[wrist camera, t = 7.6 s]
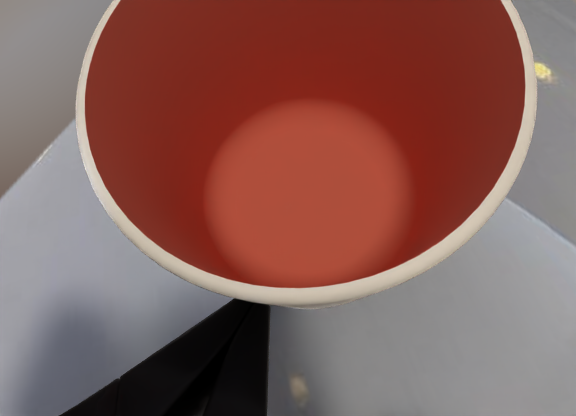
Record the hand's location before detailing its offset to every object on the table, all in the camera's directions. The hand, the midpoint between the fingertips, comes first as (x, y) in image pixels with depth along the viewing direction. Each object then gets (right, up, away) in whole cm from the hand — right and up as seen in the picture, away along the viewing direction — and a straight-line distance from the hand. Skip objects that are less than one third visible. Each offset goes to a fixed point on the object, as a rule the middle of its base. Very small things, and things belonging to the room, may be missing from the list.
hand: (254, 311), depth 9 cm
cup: (+2, +3, +8) cm, 9 cm away
